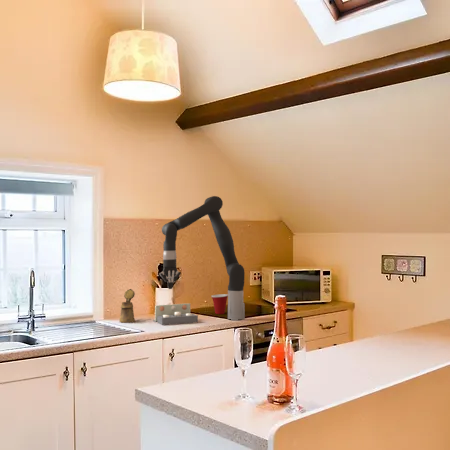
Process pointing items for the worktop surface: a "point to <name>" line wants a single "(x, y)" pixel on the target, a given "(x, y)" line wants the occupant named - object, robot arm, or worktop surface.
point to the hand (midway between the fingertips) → (170, 288)
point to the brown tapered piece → (127, 308)
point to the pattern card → (171, 309)
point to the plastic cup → (219, 303)
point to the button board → (177, 319)
